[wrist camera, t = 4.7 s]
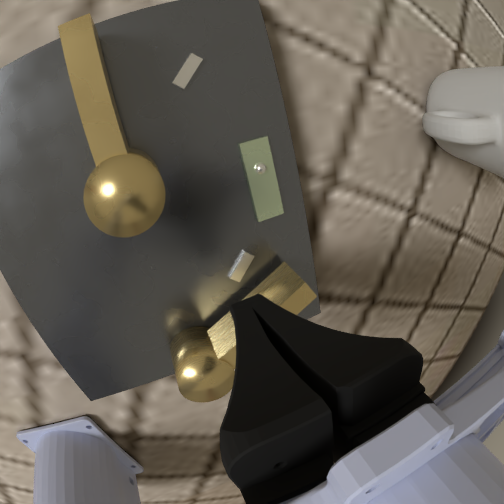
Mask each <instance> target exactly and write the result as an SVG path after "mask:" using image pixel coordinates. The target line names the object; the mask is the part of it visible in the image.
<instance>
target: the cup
mask: <svg viewBox="0 0 504 504" xmlns="http://www.w3.org/2000/svg"><path fill="white" fill-rule="evenodd" d="M426 112H427V113H425V114H424V115H423V118H422V122H423V129H424V132H425V133H426V134H427V135H429V136H431V137H433V138H434V139H435V141H436V142H437V144H438V145H439V146H440V147H441V148H442V149H443V150H445V151H446V152H448V153H449V154H451V155H453V156H455V157H457V158H459V159H462V160H464V161H467V162H469V163H471V164H473V165H476V166H478V167H480V168H483V169H485V170H487V171H489V172H491V173H493V174H496V175H498V176H500V177H502V178H504V66H494V67H476V68H463V69H454V70H449V71H446V72H443V73H442V74H440V75H439V76H438V77H436V78H435V80H434V81H433V83H432V84H431V86H430V89H429V92H428V96H427V104H426Z"/></svg>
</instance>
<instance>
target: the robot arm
mask: <svg viewBox="0 0 504 504" xmlns="http://www.w3.org/2000/svg"><path fill="white" fill-rule="evenodd" d="M229 310H230V313H231V316H232V318H233V321H234V326H235V336H236V365H235V375H234V381H233V387H232V392H231V396H230V400H229V404H228V408H227V411H226V414H225V417H224V419H223V422H222V425H221V428H220V451H221V458H222V462H223V465H224V467H225V470H226V472H227V474H228V477H229V478H230V479H231V480H232V481H233V482H234V484H235V485H236V486H237V487H238V488H239V489H240V491H241V493H242V495H243V498H244V500H245V502H246V504H504V465H503V464H502V463H501V462H500V461H499V460H498V459H497V458H496V457H495V456H494V455H493V454H492V452H490V450H489V449H488V448H487V447H486V446H485V445H484V444H482V443H483V442H484V441H485V439H486V438H487V437H488V436H489V435H490V434H491V433H492V432H493V431H494V430H495V429H496V427H497V426H498V425H499V424H500V423H501V422H502V421H503V419H504V330H503V331H502V333H501V335H500V337H499V340H498V344H497V345H496V346H495V347H494V348H493V349H492V350H491V351H490V352H489V353H488V354H487V355H486V356H485V357H484V358H483V359H482V360H481V361H480V362H479V363H478V364H477V365H475V366H474V367H473V368H472V369H471V370H470V371H469V372H468V373H467V374H466V375H464V376H463V377H462V378H461V379H460V380H459V381H457V382H456V383H455V384H454V385H453V386H451V388H449V389H448V390H447V391H445V392H444V393H443V394H442V395H440V396H439V397H438V398H437V399H435V400H434V401H432V400H431V399H430V398H429V397H428V396H427V395H426V394H425V393H424V392H425V387H424V386H423V385H422V384H421V383H420V382H419V380H420V376H421V372H422V367H423V357H422V354H421V353H419V352H418V351H417V350H416V349H415V348H414V347H413V346H412V345H410V344H409V343H408V342H406V341H405V340H403V339H402V338H379V337H369V336H361V335H355V334H350V333H346V332H341V331H337V330H333V329H330V328H327V327H324V326H321V325H318V324H315V323H313V322H311V321H308V320H306V319H304V318H301V317H299V316H297V315H295V314H293V313H291V312H290V311H288V310H286V309H284V308H282V307H280V306H279V305H277V304H275V303H274V302H272V301H270V300H269V299H267V298H266V297H264V296H263V295H261V294H256V295H254V296H251V297H249V298H246V299H244V300H242V301H239V302H237V303H234V304H232V305H230V307H229ZM16 436H17V438H18V439H19V440H20V441H21V442H22V443H24V444H25V445H26V446H27V447H28V448H29V449H31V450H32V451H33V452H34V453H35V469H34V497H33V504H141V502H140V497H139V491H138V486H137V480H136V474H138V473H142V472H143V471H144V469H143V467H142V466H141V465H140V464H139V463H137V462H136V461H135V460H134V459H133V458H132V457H131V456H129V455H128V454H127V453H126V452H125V451H124V450H123V449H122V448H120V447H119V446H118V445H117V444H116V443H115V442H114V441H113V440H112V439H111V438H110V437H109V436H108V435H107V434H106V433H105V432H104V431H103V430H102V429H100V428H99V427H98V426H97V425H96V423H95V422H94V421H93V420H92V419H90V418H89V417H86V416H82V417H79V418H75V419H71V420H67V421H63V422H59V423H55V424H51V425H46V426H42V427H38V428H33V429H29V430H24V431H19V432H17V435H16ZM334 463H335V464H334Z"/></svg>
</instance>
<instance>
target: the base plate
mask: <svg viewBox="0 0 504 504" xmlns="http://www.w3.org/2000/svg"><path fill="white" fill-rule="evenodd" d="M95 27H96V29H97V32H98V37H99V41H100V45H101V49H102V53H103V58H104V62H105V65H106V69H107V73H108V77H109V81H110V84H111V88H112V92H113V95H114V99H115V102H116V106H117V109H118V113H119V116H120V120H121V123H122V126H123V130H124V133H125V136H126V139H127V142H128V146H129V148H135V149H139V150H141V151H143V152H145V153H146V154H148V155H149V156H150V157H151V158H152V159H153V160H154V162H155V164H156V165H157V168H158V170H159V172H160V175H161V177H162V180H163V182H164V186H165V204H164V208H163V211H162V213H161V215H160V217H159V218H158V220H157V221H156V222H155V223H154V225H153V226H152V227H150V228H149V229H148V230H146V231H145V232H143V233H141V234H139V235H136V236H132V237H115V236H111V235H108V234H106V233H104V232H102V231H101V230H99V229H98V228H97V227H96V226H95V225H94V224H93V223H92V222H91V220H90V219H89V217H88V215H87V213H86V210H85V206H84V199H83V196H84V188H85V184H86V182H87V179H88V177H89V176H90V174H91V173H92V171H93V170H94V169H95V168H96V165H95V162H94V159H93V156H92V153H91V150H90V147H89V144H88V140H87V137H86V134H85V131H84V128H83V124H82V121H81V118H80V114H79V111H78V107H77V104H76V100H75V97H74V93H73V89H72V85H71V82H70V78H69V74H68V70H67V65H66V61H65V57H64V52H63V48H62V43H61V38H59V39H57V40H55V41H53V42H50V43H48V44H46V45H44V46H42V47H40V48H38V49H36V50H34V51H32V52H30V53H28V54H26V55H24V56H22V57H20V58H19V59H17V60H15V61H13V62H11V63H10V64H8V65H6V66H4V67H3V68H1V69H0V270H1V272H2V274H3V276H4V278H5V279H6V281H7V283H8V285H9V287H10V288H11V290H12V292H13V294H14V295H15V297H16V299H17V300H18V302H19V304H20V305H21V307H22V309H23V310H24V312H25V313H26V315H27V316H28V318H29V320H30V321H31V323H32V324H33V326H34V327H35V329H36V330H37V332H38V333H39V335H40V336H41V338H42V339H43V340H44V342H45V343H46V345H47V346H48V347H49V349H50V350H51V352H52V353H53V354H54V356H55V357H56V358H57V360H58V361H59V362H60V364H61V365H62V366H63V368H64V369H65V370H66V371H67V373H68V374H69V375H70V376H71V378H72V379H73V380H74V381H75V383H76V384H77V385H78V386H79V387H80V389H81V390H82V391H83V392H84V393H85V395H86V396H87V397H88V398H89V399H90V400H91V401H93V400H96V399H99V398H103V397H106V396H109V395H112V394H116V393H119V392H122V391H125V390H128V389H131V388H134V387H137V386H140V385H143V384H146V383H149V382H152V381H155V380H158V379H161V378H164V377H166V376H169V375H172V374H175V371H174V366H173V362H172V357H171V353H170V344H171V342H172V340H173V338H174V337H175V336H176V335H177V334H178V333H179V332H181V331H182V330H184V329H187V328H190V327H195V326H203V327H207V328H211V327H212V326H213V325H215V324H216V323H217V322H218V321H219V320H220V319H221V318H222V317H224V316H225V315H226V314H227V313H228V312H229V311H230V310H229V307H230V305H232V304H234V303H237V302H239V301H241V300H242V299H244V298H245V297H246V296H247V295H248V294H249V293H250V292H251V291H252V290H254V289H255V288H256V287H257V286H258V285H259V284H260V283H261V282H262V281H263V280H264V279H266V278H267V277H268V276H269V275H270V274H271V273H272V272H273V271H274V270H275V269H276V268H278V267H279V266H280V265H281V264H282V263H283V262H285V263H286V264H287V265H288V266H289V267H290V268H291V269H292V270H293V271H294V272H295V273H296V274H297V275H298V276H299V277H300V278H301V279H302V280H303V281H304V282H305V283H306V284H307V285H308V286H309V287H310V288H311V289H312V291H313V292H314V293H315V294H316V295H317V297H316V298H315V299H314V300H313V301H312V302H311V303H310V304H308V305H307V306H306V307H305V308H304V309H303V310H302V311H301V312H300V313H299V314H297V316H299V317H301V318H304V319H308V318H311V317H313V316H315V315H317V314H319V313H321V312H320V304H319V297H318V289H317V282H316V275H315V268H314V262H313V255H312V249H311V242H310V236H309V230H308V224H307V218H306V212H305V207H304V201H303V195H302V190H301V184H300V179H299V174H298V168H297V163H296V158H295V153H294V148H293V143H292V138H291V133H290V129H289V124H288V119H287V115H286V110H285V106H284V101H283V97H282V92H281V88H280V84H279V79H278V75H277V71H276V67H275V63H274V58H273V54H272V50H271V46H270V43H269V39H268V35H267V31H266V27H265V23H264V20H263V16H262V12H261V9H260V5H259V1H258V0H178V1H173V2H169V3H164V4H160V5H156V6H152V7H148V8H144V9H141V10H137V11H134V12H130V13H127V14H124V15H120V16H117V17H114V18H111V19H108V20H105V21H102V22H100V23H97V24H95Z"/></svg>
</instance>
